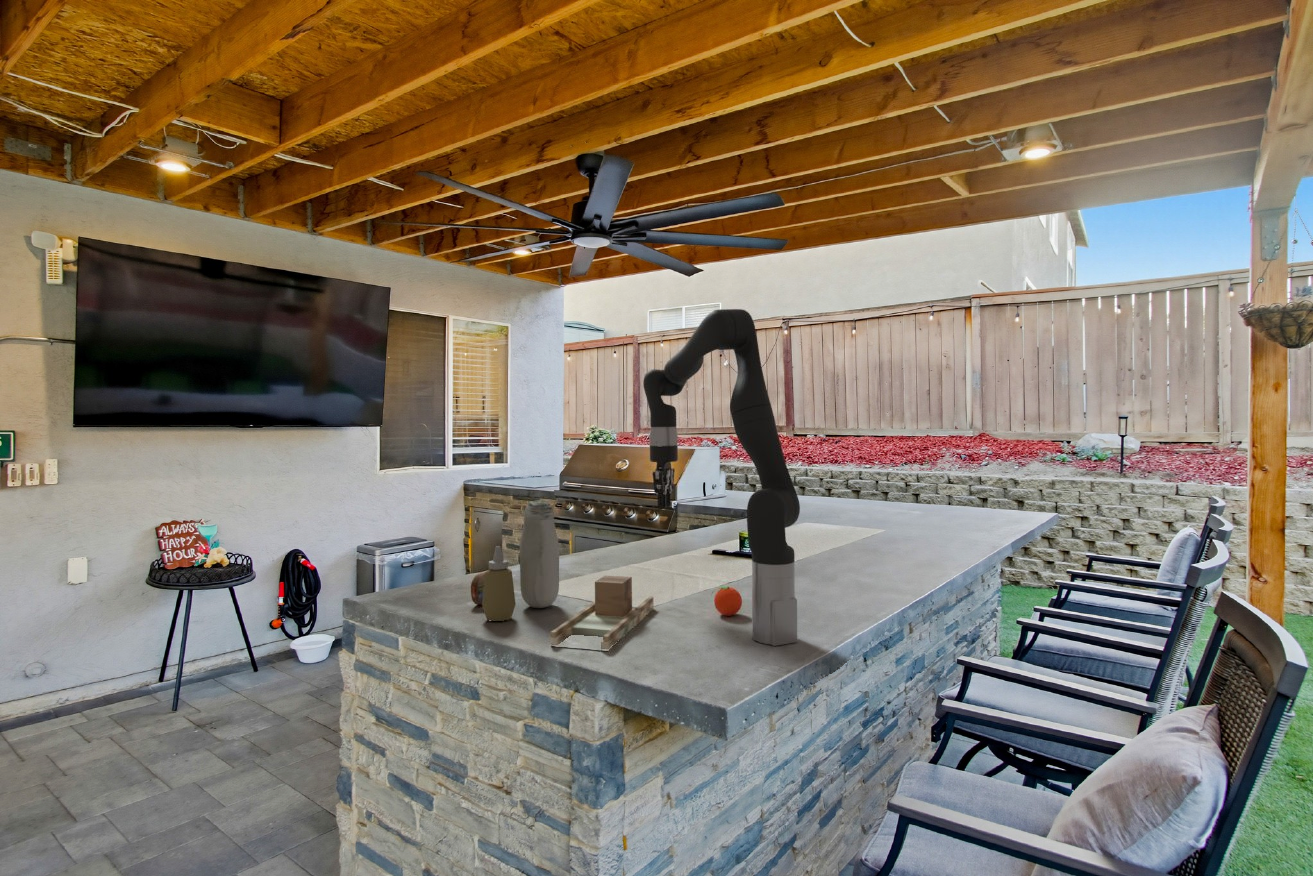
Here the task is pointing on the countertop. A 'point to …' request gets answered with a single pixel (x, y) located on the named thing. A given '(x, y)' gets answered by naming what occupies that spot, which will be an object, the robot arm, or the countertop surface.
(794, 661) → the countertop surface
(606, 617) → the track
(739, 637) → the countertop surface
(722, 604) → the clementine
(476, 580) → the tin
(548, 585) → the grey vase
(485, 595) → the squeeze bottle
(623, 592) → the walnut block
